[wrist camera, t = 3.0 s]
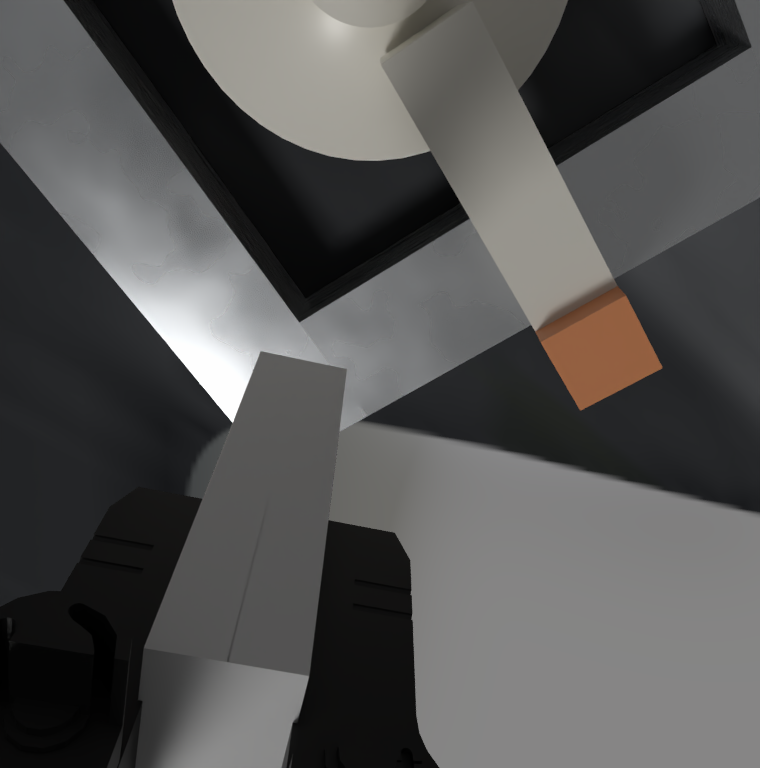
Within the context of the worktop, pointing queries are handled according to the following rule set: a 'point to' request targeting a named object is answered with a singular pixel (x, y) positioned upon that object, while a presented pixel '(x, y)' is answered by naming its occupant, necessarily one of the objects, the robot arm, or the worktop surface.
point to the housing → (381, 272)
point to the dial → (439, 139)
